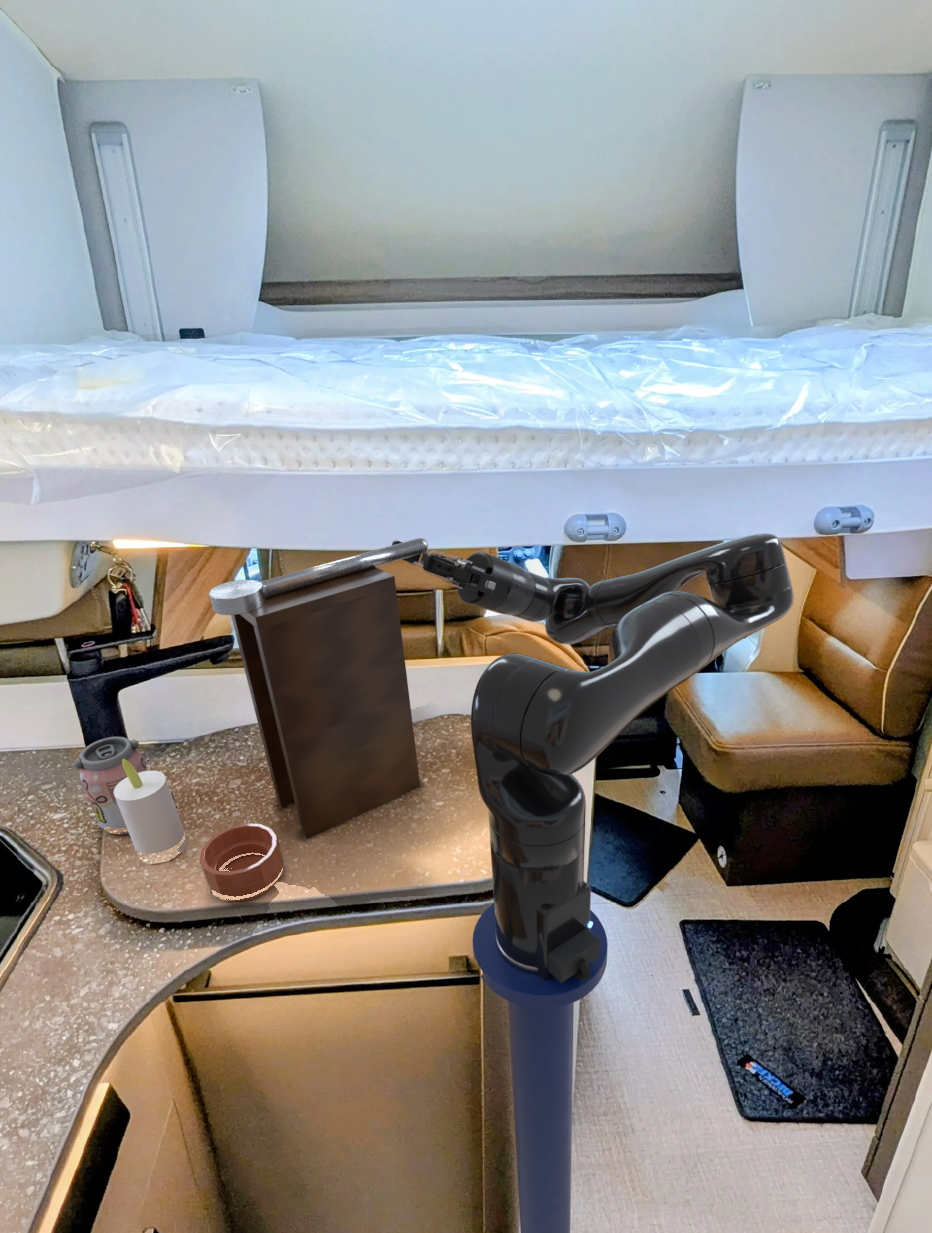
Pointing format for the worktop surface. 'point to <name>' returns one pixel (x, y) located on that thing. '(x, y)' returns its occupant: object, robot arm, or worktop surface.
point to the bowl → (242, 860)
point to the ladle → (304, 578)
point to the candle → (149, 810)
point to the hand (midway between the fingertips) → (408, 554)
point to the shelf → (332, 696)
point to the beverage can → (107, 775)
